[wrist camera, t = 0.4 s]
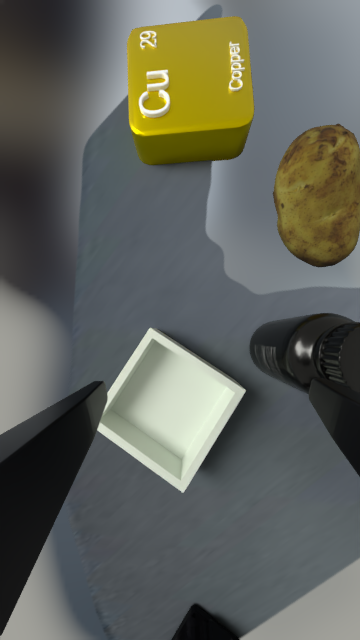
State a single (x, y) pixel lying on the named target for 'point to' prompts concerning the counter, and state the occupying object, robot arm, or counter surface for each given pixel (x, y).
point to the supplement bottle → (309, 350)
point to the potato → (319, 195)
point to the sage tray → (169, 407)
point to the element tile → (190, 90)
